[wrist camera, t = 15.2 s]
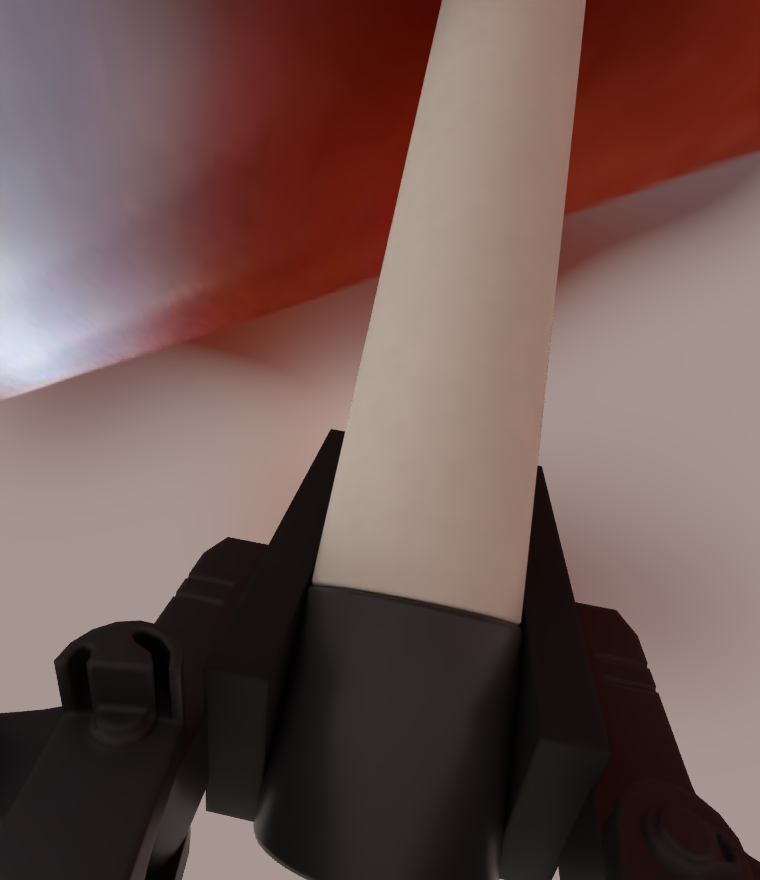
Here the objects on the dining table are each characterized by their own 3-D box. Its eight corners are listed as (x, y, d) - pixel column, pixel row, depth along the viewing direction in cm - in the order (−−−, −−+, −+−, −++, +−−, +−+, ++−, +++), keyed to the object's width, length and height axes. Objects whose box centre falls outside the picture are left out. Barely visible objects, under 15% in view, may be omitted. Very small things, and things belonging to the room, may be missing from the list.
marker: (437, 54, 14) (277, 791, 9) (451, -102, 11) (220, 870, 6) (565, 70, 14) (477, 836, 8) (613, -86, 11) (523, 943, 6)
